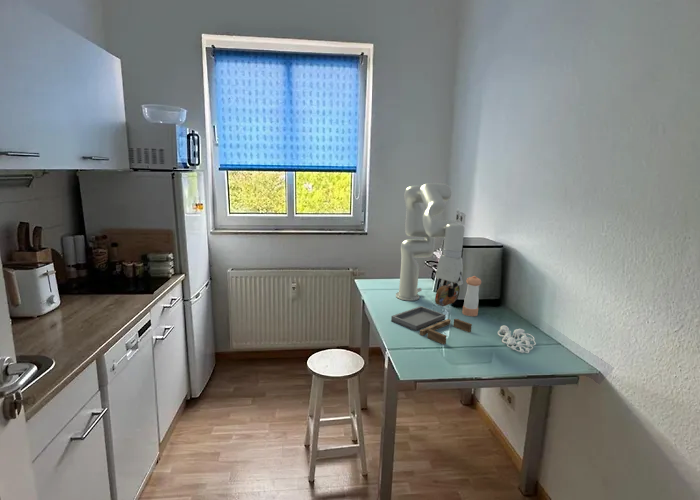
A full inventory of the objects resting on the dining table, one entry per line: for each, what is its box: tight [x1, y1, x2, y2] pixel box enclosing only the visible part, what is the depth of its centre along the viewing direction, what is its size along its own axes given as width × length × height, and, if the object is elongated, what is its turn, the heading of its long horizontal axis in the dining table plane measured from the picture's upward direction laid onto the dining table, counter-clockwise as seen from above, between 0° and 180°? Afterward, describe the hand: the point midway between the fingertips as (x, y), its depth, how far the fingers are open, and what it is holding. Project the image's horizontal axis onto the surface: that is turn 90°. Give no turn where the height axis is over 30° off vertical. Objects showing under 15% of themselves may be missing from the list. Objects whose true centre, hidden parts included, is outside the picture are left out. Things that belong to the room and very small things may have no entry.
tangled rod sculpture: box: [497, 325, 537, 354], centre depth 168 cm, size 19×14×4 cm
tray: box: [390, 305, 446, 332], centre depth 187 cm, size 22×14×2 cm, turn 134°
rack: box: [419, 318, 473, 345], centre depth 174 cm, size 21×12×4 cm, turn 134°
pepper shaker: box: [461, 275, 482, 317], centre depth 197 cm, size 7×7×19 cm
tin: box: [434, 283, 460, 307], centre depth 172 cm, size 15×3×8 cm, turn 134°
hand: (447, 295), depth 172 cm, fingers closed on tin, 2 cm apart
